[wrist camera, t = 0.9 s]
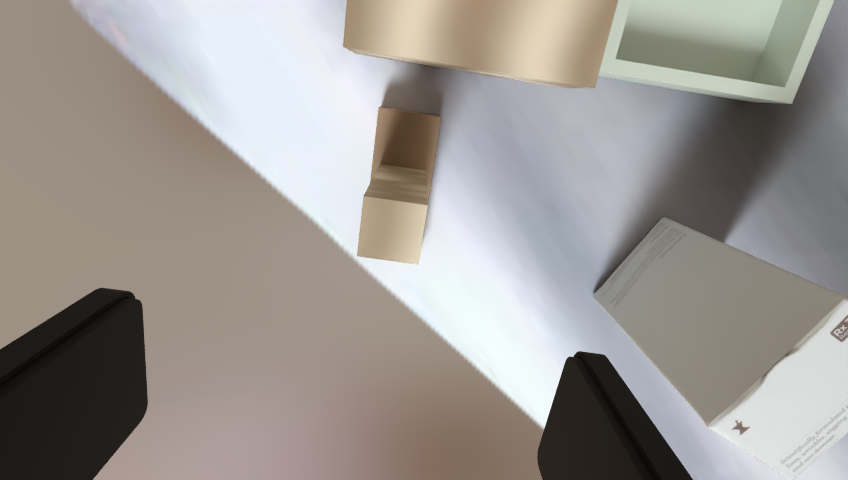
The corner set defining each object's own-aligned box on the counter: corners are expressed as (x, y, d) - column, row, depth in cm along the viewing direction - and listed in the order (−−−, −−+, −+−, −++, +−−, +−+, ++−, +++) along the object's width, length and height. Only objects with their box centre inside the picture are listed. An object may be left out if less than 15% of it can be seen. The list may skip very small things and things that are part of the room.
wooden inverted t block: (440, 115, 30) (451, 130, 19) (418, 252, 33) (418, 328, 22) (381, 106, 29) (360, 116, 19) (365, 244, 33) (340, 318, 22)
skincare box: (642, 331, 35) (789, 492, 21) (586, 292, 34) (703, 436, 20) (720, 251, 33) (944, 372, 19) (663, 207, 32) (857, 301, 18)
